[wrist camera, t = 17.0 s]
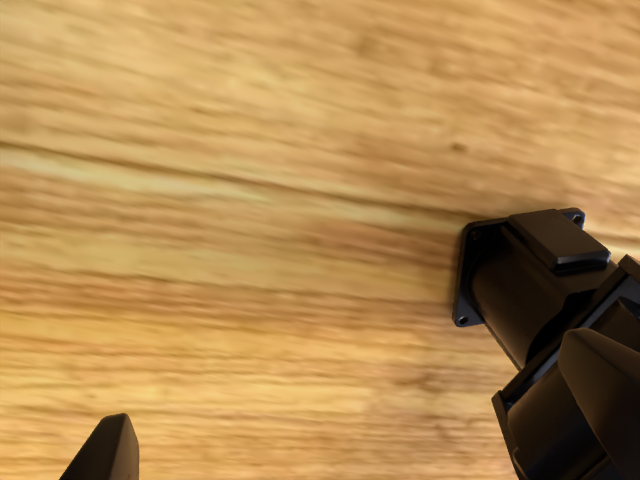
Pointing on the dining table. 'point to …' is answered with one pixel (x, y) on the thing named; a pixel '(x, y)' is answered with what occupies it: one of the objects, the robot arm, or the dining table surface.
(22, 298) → the dining table surface
